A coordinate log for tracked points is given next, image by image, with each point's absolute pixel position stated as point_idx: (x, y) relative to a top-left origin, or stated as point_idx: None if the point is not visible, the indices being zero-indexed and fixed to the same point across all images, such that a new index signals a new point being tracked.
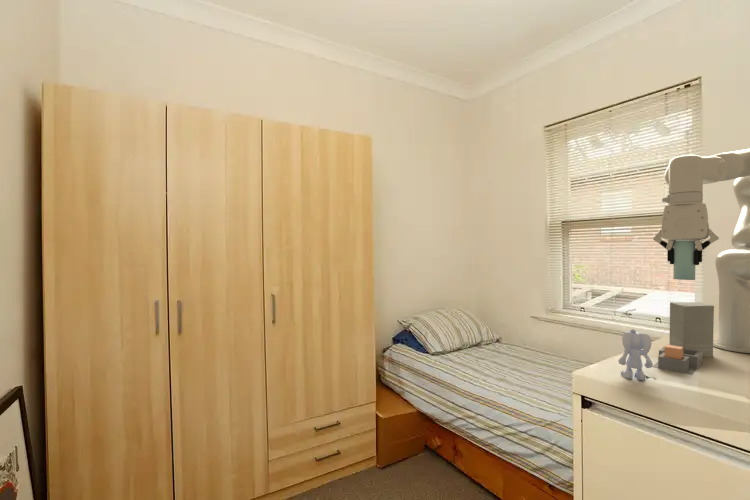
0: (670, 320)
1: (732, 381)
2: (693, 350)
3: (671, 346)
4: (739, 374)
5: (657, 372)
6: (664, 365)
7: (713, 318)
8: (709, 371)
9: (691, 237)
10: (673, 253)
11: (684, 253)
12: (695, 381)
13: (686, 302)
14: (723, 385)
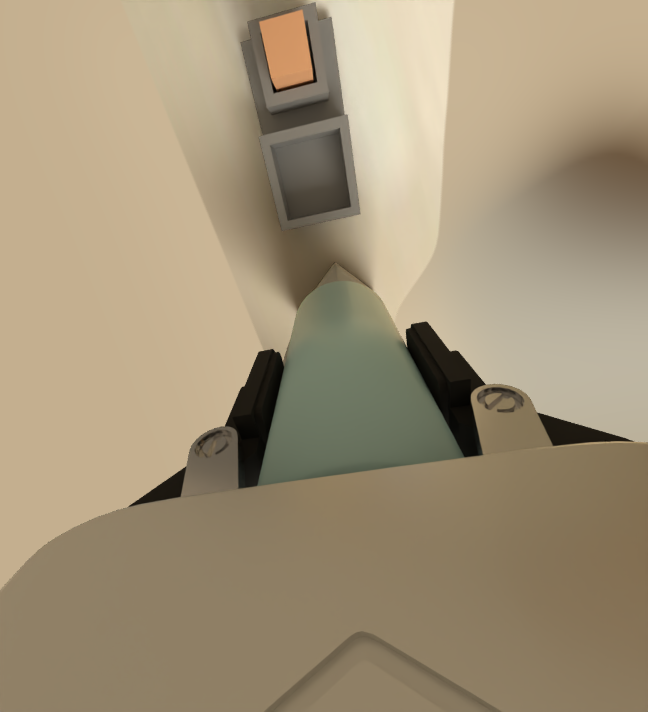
0: None
1: (196, 136)
2: (297, 219)
3: (293, 44)
4: (219, 227)
5: None
6: None
7: (286, 351)
8: (258, 189)
9: (210, 504)
10: (431, 386)
11: (326, 358)
12: (228, 27)
13: None
14: (184, 64)
